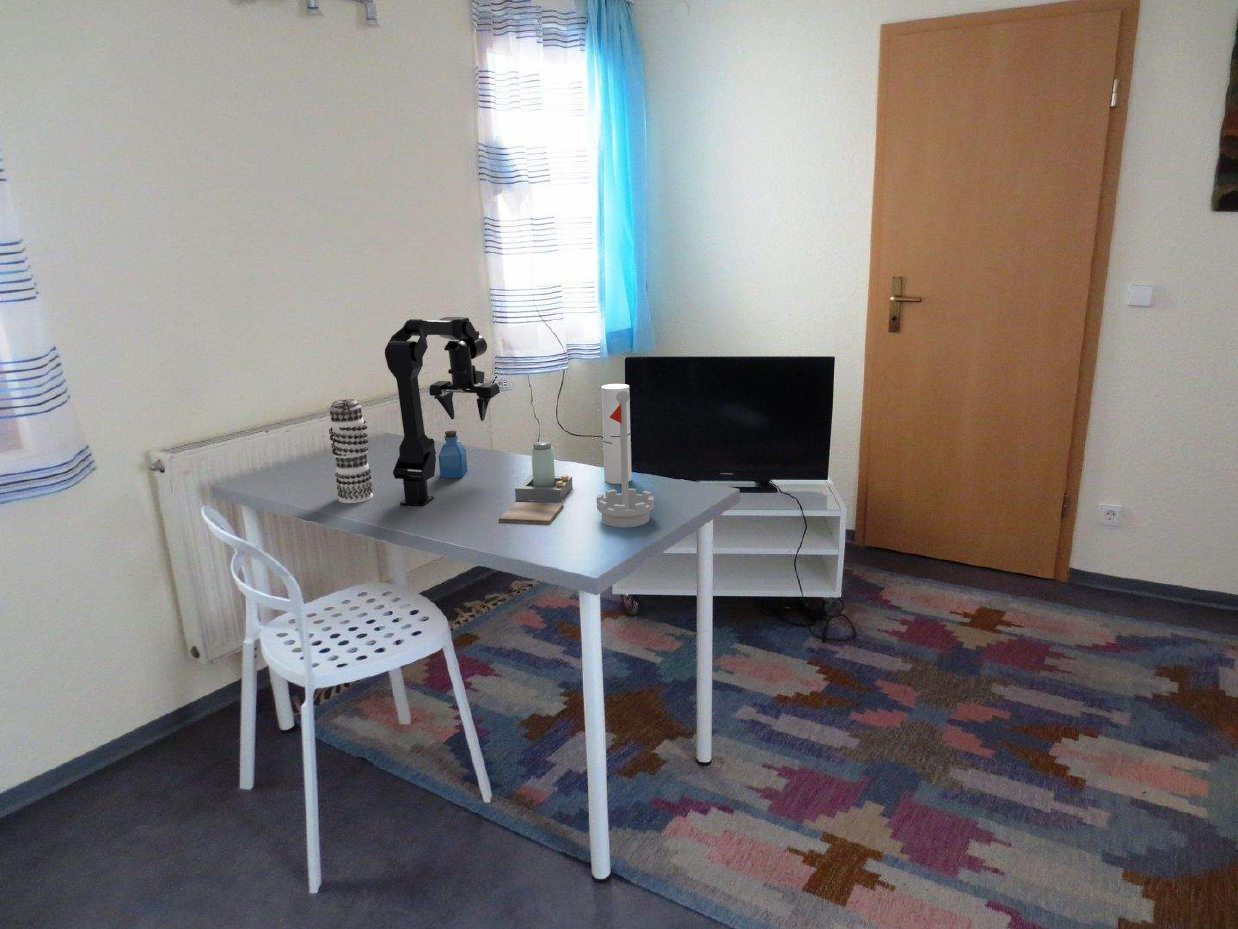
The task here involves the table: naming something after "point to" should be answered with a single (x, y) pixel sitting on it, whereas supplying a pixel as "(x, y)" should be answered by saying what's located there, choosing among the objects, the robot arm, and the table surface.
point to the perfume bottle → (452, 457)
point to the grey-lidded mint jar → (543, 464)
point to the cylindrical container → (614, 434)
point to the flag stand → (624, 484)
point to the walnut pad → (531, 512)
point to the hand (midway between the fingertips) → (467, 419)
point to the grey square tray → (544, 490)
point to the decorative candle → (350, 451)
